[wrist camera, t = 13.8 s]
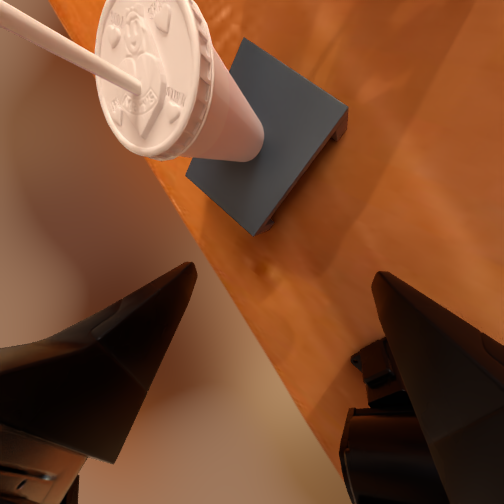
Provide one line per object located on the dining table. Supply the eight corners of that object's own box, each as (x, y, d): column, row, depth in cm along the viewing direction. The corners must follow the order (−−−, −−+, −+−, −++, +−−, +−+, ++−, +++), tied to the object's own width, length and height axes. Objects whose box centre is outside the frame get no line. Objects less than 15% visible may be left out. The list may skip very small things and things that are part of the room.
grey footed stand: (347, 128, 17) (348, 106, 13) (268, 230, 22) (253, 236, 18) (264, 71, 18) (243, 36, 14) (210, 179, 24) (184, 175, 20)
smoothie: (212, 175, 18) (-41, 129, 6) (215, 97, 16) (-153, -199, 4) (274, 180, 16) (57, 120, 4) (285, 90, 14) (-96, -653, 2)
